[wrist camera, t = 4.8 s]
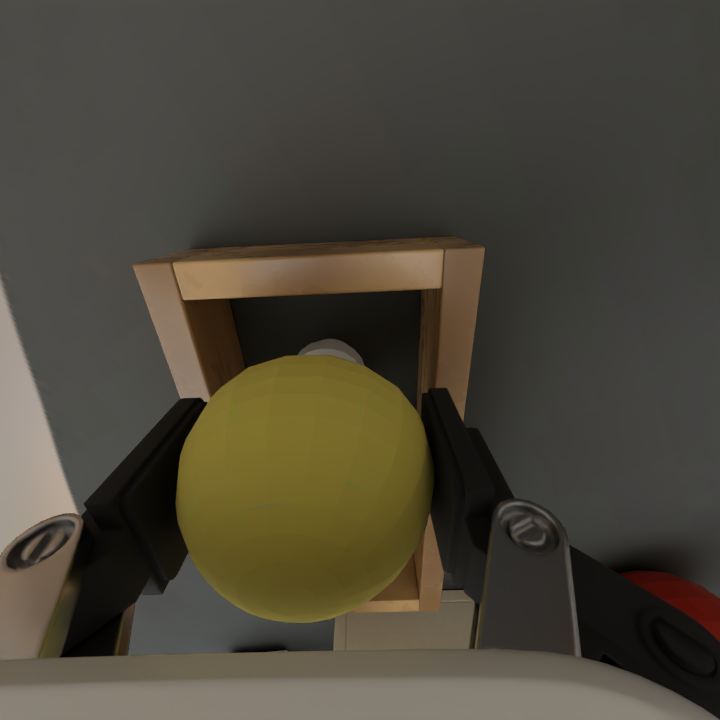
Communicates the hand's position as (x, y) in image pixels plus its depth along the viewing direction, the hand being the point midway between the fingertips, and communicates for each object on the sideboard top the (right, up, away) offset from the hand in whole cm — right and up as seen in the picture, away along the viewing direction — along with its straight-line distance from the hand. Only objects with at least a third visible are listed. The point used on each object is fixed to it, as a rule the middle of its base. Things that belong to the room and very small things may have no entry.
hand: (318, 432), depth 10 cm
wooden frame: (0, -2, +7) cm, 7 cm away
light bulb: (0, +2, +5) cm, 5 cm away
